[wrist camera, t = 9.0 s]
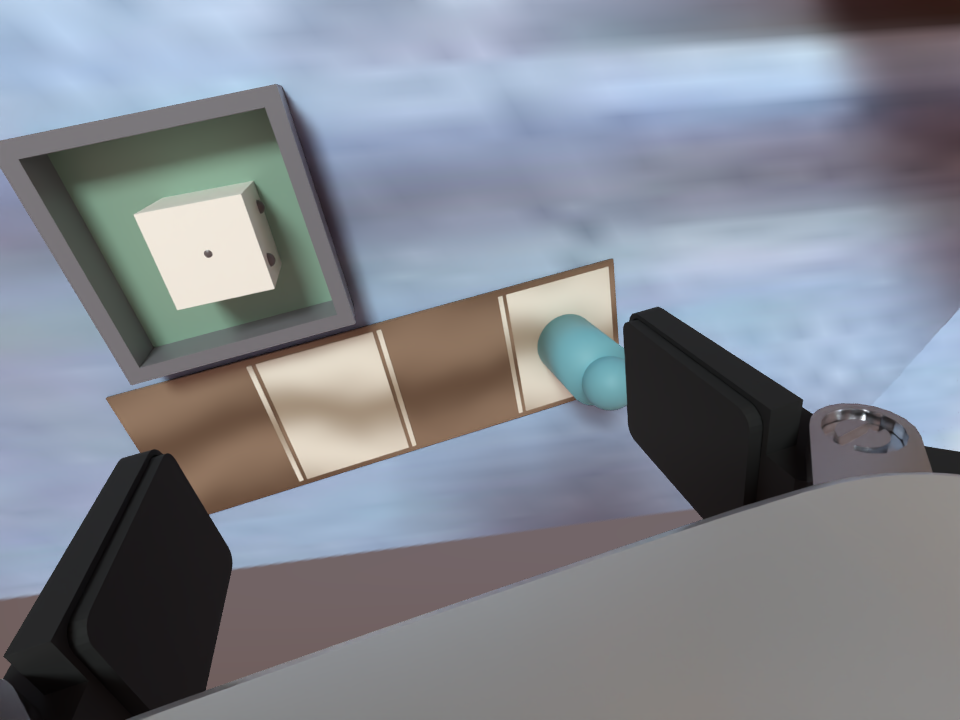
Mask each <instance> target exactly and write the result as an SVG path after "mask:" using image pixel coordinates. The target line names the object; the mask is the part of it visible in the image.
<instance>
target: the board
mask: <svg viewBox="0 0 960 720" xmlns="http://www.w3.org/2000/svg"><path fill="white" fill-rule="evenodd" d="M565 314H576V315H579V316H581V317H583V318H585V319H586V320H587V321H589V322H590V323H591V324H593V325H594V326H595V327H597V328H598V329H599V330H600V331H602V332H603V333H604V334H606V335H607V336H608V337H610V338H611V339H612V340H614V341H615V342H616V343H618V344H619V341H618V326H617V310H616V294H615V278H614V262H613V259H608V260H605V261H601V262H597V263H594V264H590V265H586V266H583V267H579V268H575V269H572V270H568V271H564V272H561V273H557V274H554V275H550V276H546V277H543V278H539V279H535V280H532V281H528V282H524V283H521V284H517V285H514V286H510V287H506V288H503V289H499V290H495V291H492V292H488V293H484V294H481V295H477V296H474V297H470V298H466V299H463V300H459V301H455V302H452V303H448V304H444V305H441V306H437V307H434V308H430V309H426V310H423V311H419V312H415V313H412V314H408V315H404V316H401V317H397V318H394V319H390V320H386V321H383V322H379V323H375V324H372V325H368V326H364V327H361V328H357V329H354V330H350V331H346V332H343V333H339V334H335V335H332V336H328V337H324V338H321V339H317V340H313V341H310V342H306V343H303V344H299V345H295V346H292V347H288V348H284V349H281V350H277V351H273V352H270V353H266V354H263V355H259V356H255V357H252V358H248V359H244V360H241V361H237V362H233V363H230V364H226V365H223V366H219V367H215V368H212V369H208V370H204V371H201V372H197V373H193V374H190V375H186V376H183V377H179V378H175V379H172V380H168V381H164V382H161V383H157V384H153V385H150V386H146V387H143V388H139V389H135V390H132V391H128V392H124V393H121V394H117V395H113V396H110V397H107V398H106V400H107V401H108V403H109V404H110V406H111V408H112V409H113V411H114V412H115V414H116V415H117V417H118V419H119V420H120V422H121V423H122V425H123V426H124V428H125V430H126V431H127V433H128V434H129V436H130V437H131V439H132V441H133V442H134V444H135V445H136V447H137V448H138V450H139V452H140V453H142V452H146V451H149V450H153V449H156V450H159V451H160V452H161V453H162V454H166V453H169V454H171V455H172V456H173V457H174V458H175V459H176V461H177V463H178V464H179V466H180V468H181V469H182V471H183V473H184V474H185V476H186V478H187V479H188V481H189V483H190V484H191V486H192V488H193V489H194V491H195V493H196V494H197V496H198V498H199V499H200V501H201V503H202V504H203V506H204V508H205V509H206V511H207V513H208V514H212V513H215V512H218V511H221V510H224V509H228V508H231V507H234V506H237V505H240V504H244V503H247V502H250V501H253V500H256V499H260V498H263V497H266V496H269V495H272V494H276V493H279V492H282V491H285V490H288V489H292V488H295V487H298V486H301V485H304V484H308V483H311V482H314V481H317V480H320V479H324V478H327V477H330V476H333V475H336V474H340V473H343V472H346V471H349V470H352V469H356V468H359V467H362V466H365V465H368V464H372V463H375V462H378V461H381V460H384V459H388V458H391V457H394V456H397V455H400V454H404V453H407V452H410V451H413V450H416V449H420V448H423V447H426V446H429V445H432V444H436V443H439V442H442V441H445V440H449V439H452V438H455V437H458V436H461V435H465V434H468V433H471V432H474V431H477V430H481V429H484V428H487V427H490V426H493V425H497V424H500V423H503V422H506V421H509V420H513V419H516V418H519V417H522V416H525V415H529V414H532V413H535V412H538V411H541V410H545V409H548V408H551V407H554V406H557V405H561V404H564V403H567V402H570V401H573V400H577V399H576V398H575V397H574V396H573V395H572V394H571V393H570V392H569V391H568V390H567V389H566V387H565V386H564V385H563V384H562V383H561V382H560V381H559V380H558V379H557V377H556V376H555V375H554V374H553V373H552V372H551V371H550V370H549V369H548V368H547V366H546V365H545V364H544V363H543V362H542V361H541V359H540V357H539V354H538V349H537V346H538V340H539V337H540V334H541V332H542V331H543V329H544V328H545V326H546V325H547V324H548V323H549V322H551V321H552V320H553V319H555V318H557V317H559V316H561V315H565Z"/></svg>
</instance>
